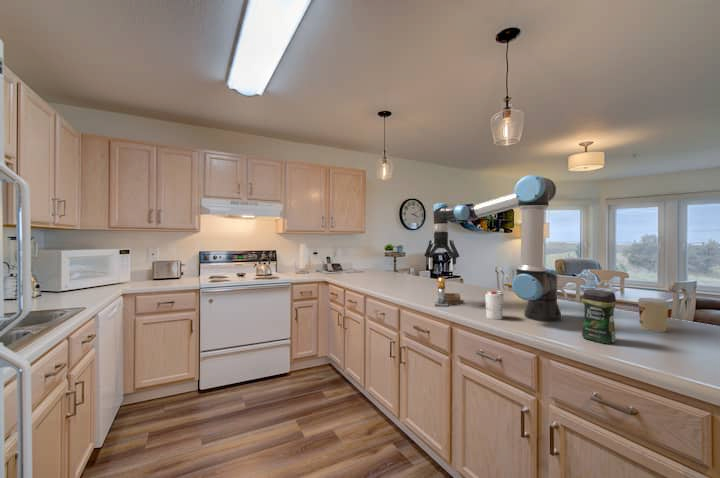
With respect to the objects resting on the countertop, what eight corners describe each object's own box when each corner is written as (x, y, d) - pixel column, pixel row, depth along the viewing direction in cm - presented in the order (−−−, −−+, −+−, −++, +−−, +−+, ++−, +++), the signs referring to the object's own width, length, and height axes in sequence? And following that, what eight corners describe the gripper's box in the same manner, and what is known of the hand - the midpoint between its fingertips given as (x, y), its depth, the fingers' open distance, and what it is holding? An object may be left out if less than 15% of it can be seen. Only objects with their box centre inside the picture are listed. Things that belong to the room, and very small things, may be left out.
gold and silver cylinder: (446, 303, 176) (446, 278, 175) (442, 304, 173) (442, 278, 172) (439, 302, 178) (440, 277, 178) (436, 303, 175) (436, 278, 175)
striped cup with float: (508, 320, 144) (508, 294, 144) (489, 320, 144) (489, 294, 144) (498, 314, 154) (498, 290, 154) (481, 314, 154) (481, 290, 154)
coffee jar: (578, 338, 119) (578, 289, 119) (589, 334, 123) (589, 287, 123) (609, 346, 111) (609, 293, 110) (619, 342, 115) (619, 291, 114)
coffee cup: (638, 324, 136) (638, 296, 136) (669, 328, 130) (669, 299, 129) (636, 329, 130) (636, 299, 130) (668, 334, 123) (668, 303, 123)
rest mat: (447, 306, 171) (447, 304, 171) (434, 306, 173) (434, 304, 173) (447, 303, 178) (447, 302, 178) (434, 303, 180) (434, 301, 180)
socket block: (460, 304, 177) (460, 297, 177) (440, 303, 180) (440, 296, 180) (459, 300, 188) (459, 293, 188) (440, 299, 191) (440, 292, 191)
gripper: (418, 232, 181) (418, 269, 181) (458, 230, 163) (459, 271, 164) (425, 232, 186) (425, 268, 186) (465, 230, 169) (466, 270, 169)
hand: (441, 269), depth 175 cm, fingers open, 13 cm apart
